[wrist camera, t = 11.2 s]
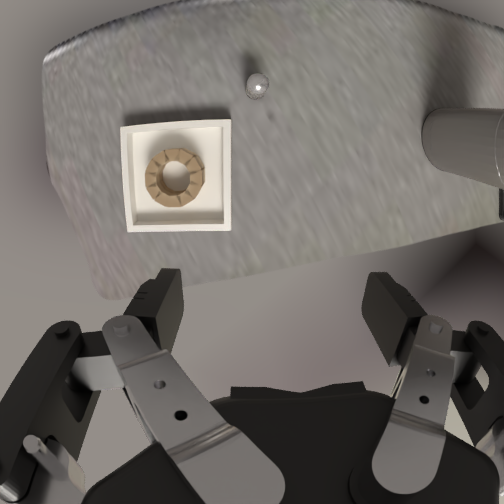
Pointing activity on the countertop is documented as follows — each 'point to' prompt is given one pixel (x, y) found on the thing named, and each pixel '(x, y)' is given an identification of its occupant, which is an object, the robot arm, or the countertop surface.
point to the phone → (501, 204)
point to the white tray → (178, 175)
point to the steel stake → (257, 86)
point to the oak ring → (158, 186)
